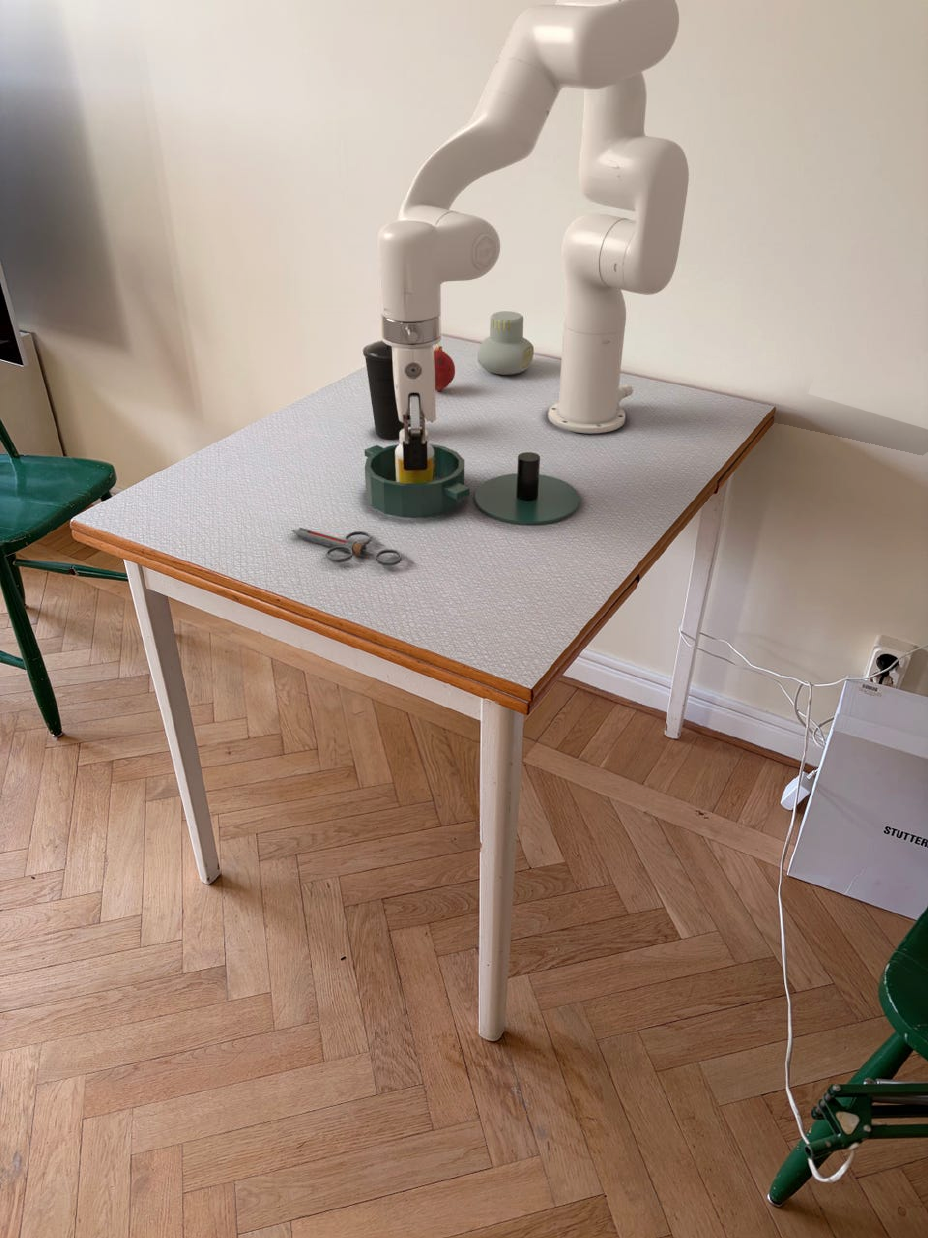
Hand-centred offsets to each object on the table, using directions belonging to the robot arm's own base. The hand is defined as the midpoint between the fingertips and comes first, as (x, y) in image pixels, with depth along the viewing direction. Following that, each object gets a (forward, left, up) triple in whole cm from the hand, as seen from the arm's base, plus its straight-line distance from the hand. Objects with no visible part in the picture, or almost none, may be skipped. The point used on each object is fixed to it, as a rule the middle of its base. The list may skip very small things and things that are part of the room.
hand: (414, 458), depth 129 cm
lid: (-10, +12, -5) cm, 17 cm away
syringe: (+17, +4, -6) cm, 18 cm away
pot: (0, 0, -6) cm, 6 cm away
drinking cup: (-12, -19, -6) cm, 23 cm away
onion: (-30, -27, -6) cm, 41 cm away
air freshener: (-46, -26, -6) cm, 53 cm away
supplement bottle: (0, 0, -6) cm, 6 cm away
